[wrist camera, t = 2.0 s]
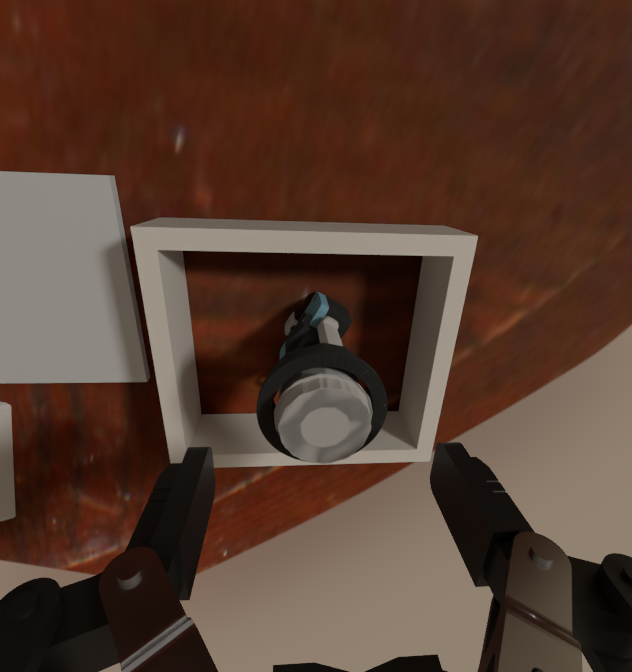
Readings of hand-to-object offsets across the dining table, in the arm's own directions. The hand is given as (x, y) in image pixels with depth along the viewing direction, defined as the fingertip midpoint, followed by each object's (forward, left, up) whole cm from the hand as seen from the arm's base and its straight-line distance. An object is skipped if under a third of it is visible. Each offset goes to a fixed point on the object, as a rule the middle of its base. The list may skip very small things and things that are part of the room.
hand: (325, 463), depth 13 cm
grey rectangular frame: (0, 0, -11) cm, 11 cm away
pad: (-16, +3, -11) cm, 20 cm away
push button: (0, 0, -11) cm, 11 cm away
